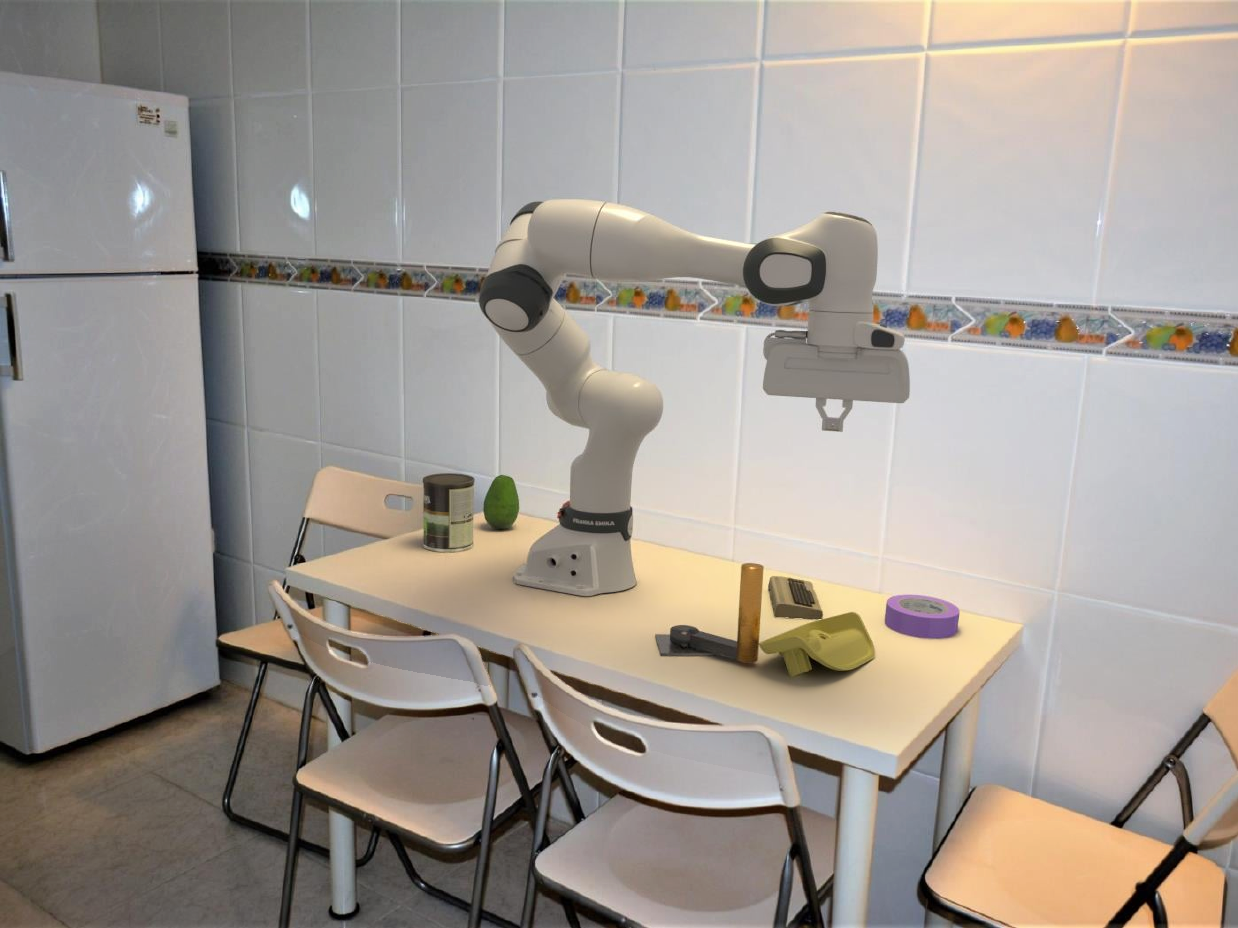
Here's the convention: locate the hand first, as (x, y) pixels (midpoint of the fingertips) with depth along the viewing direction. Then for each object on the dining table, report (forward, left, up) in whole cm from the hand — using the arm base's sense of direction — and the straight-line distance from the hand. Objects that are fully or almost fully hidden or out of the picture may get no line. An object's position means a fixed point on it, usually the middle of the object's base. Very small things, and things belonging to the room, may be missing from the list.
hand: (832, 430), depth 145 cm
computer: (-5, +28, -36) cm, 45 cm away
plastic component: (0, +1, -36) cm, 36 cm away
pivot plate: (-20, +1, -35) cm, 40 cm away
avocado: (-71, +58, -35) cm, 98 cm away
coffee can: (-76, +41, -35) cm, 93 cm away
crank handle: (-15, -1, -34) cm, 38 cm away
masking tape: (+16, +23, -36) cm, 45 cm away
